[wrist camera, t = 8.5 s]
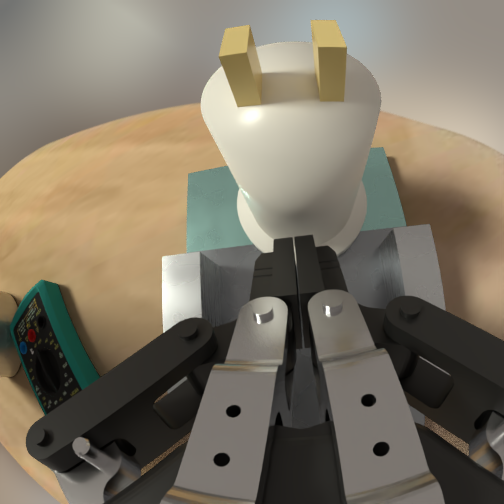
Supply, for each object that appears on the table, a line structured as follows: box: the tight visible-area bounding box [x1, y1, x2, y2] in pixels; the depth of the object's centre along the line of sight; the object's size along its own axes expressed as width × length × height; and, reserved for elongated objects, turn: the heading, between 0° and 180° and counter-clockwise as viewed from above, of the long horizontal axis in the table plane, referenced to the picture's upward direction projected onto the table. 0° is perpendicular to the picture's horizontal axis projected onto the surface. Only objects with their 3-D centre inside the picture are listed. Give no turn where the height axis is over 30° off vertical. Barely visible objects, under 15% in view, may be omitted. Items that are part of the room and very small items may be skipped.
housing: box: [162, 147, 449, 429], centre depth 13 cm, size 13×22×4 cm, turn 4°
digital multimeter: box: [10, 280, 100, 415], centre depth 16 cm, size 7×15×3 cm, turn 40°
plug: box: [201, 20, 381, 266], centre depth 11 cm, size 7×7×11 cm
